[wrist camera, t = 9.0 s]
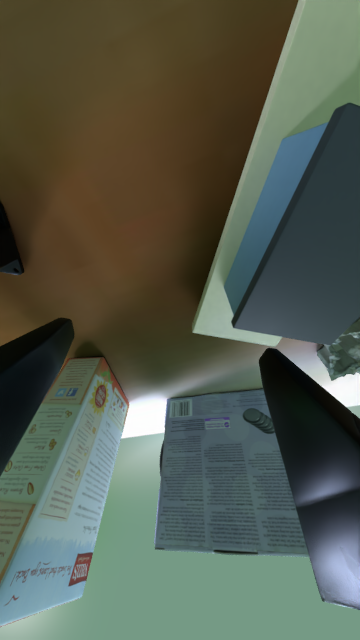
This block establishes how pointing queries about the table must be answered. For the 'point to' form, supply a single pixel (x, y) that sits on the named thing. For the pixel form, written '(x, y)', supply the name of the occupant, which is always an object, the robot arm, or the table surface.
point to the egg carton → (343, 353)
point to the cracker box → (58, 490)
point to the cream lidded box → (286, 133)
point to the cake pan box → (225, 480)
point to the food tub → (304, 238)
